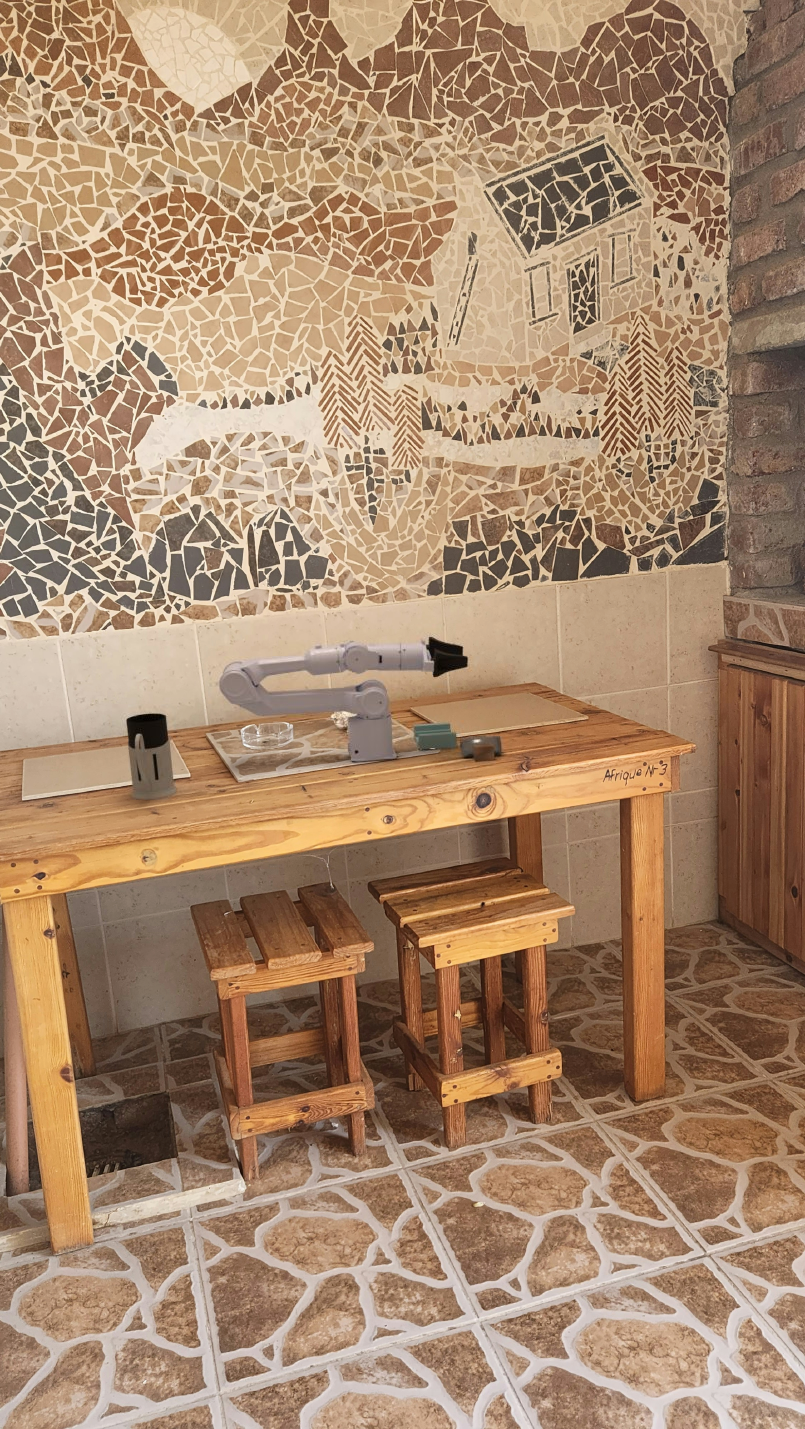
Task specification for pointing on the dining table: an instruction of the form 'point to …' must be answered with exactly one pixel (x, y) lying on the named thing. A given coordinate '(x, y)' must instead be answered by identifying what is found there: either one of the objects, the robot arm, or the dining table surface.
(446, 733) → the v block
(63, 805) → the dining table surface
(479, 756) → the block
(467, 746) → the axle
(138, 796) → the glass holder
